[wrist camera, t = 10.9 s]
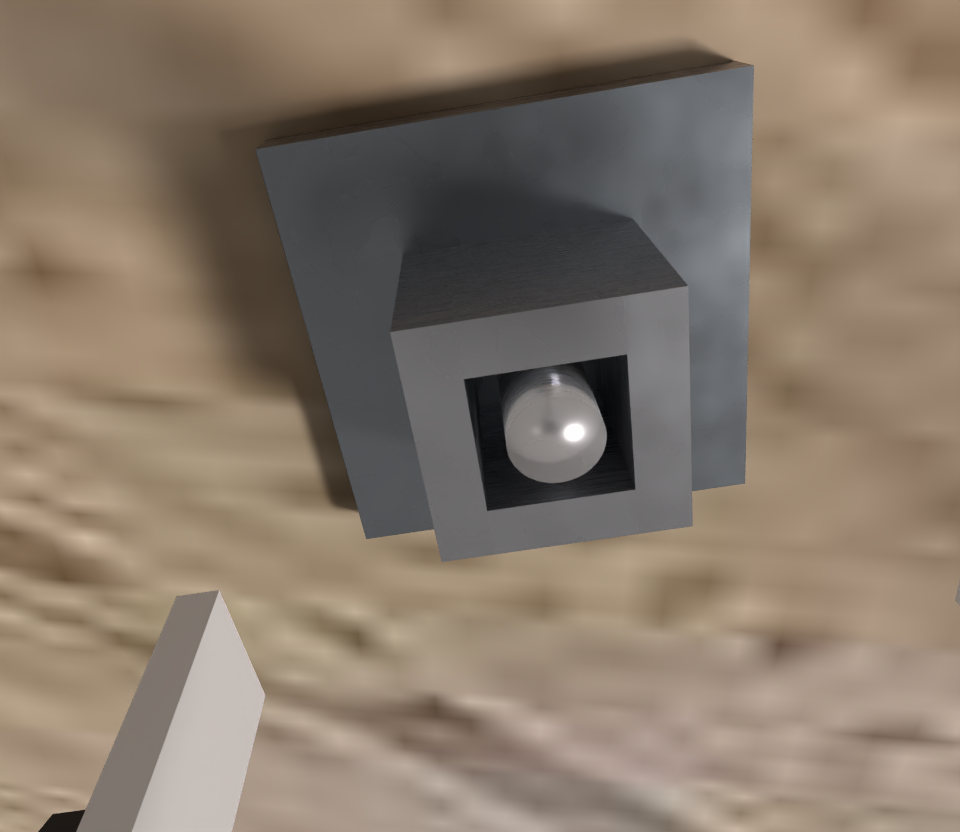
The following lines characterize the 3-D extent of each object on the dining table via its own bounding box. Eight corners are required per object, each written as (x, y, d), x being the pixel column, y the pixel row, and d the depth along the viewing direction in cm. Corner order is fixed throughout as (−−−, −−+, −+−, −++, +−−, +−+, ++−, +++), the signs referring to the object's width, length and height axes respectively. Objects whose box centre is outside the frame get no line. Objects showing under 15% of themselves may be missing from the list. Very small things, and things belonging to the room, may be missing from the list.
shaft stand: (266, 140, 23) (186, 205, 16) (735, 60, 22) (868, 92, 15) (370, 514, 30) (346, 676, 23) (731, 461, 29) (821, 610, 22)
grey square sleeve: (402, 255, 23) (390, 332, 18) (632, 218, 23) (688, 285, 18) (442, 449, 27) (441, 562, 21) (643, 419, 26) (692, 526, 21)
